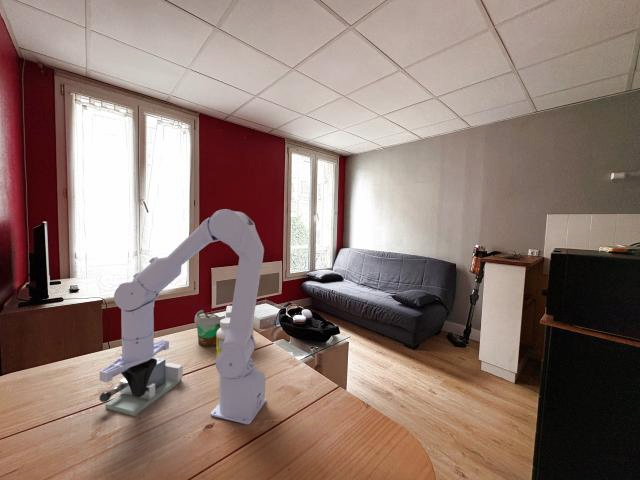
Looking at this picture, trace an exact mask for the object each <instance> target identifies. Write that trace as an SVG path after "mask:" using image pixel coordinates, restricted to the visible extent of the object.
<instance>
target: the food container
mask: <svg viewBox="0 0 640 480" xmlns="http://www.w3.org/2000/svg"><path fill="white" fill-rule="evenodd" d="M224 318H226V315H223V316H219V315H216V314H214V313H206V312H204V309H201V310H199V311H197V312H196V314H195V316H194V323H195V324H196V331H197V340H198V341H197V342H198V345H199V346H200V347H204V348H212V347H213V348H214V347H216V334H217V331H218V329H220V328H221V326H220V320H222V319H224Z"/></svg>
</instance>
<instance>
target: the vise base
mask: <svg viewBox="0 0 640 480" xmlns="http://www.w3.org/2000/svg"><path fill="white" fill-rule="evenodd" d="M183 369H184V366H183V365H182V364H178V363H172V362H166V383H164V384H163V385H161V386H160V387H159V388H157V389H156V390H155V397H153V398H152V399H150V400H146V399H142V398H138V397H134V396H130V395H126V394H122V393H120V394H118V396H116V397H114V398H112V399H111V400H108V401H107V402H105V409H107V410H111V411H115V412H118V413H122V414H126V415H128V416H133V417H135V416H136V415H138V414H139V413H140V412H142V411H143V410H145V409H146V408H148V407H149V406H150V405H151V404H152V403H154V402H156V401H157V400H158V399H159V398H161V397H162V396H163V395H165V394H166V393H168V392H169V391H170V390H172V389H173V388H174V387H176V386H177V385H178V384H179V383H181V382H182V381H183V380H182V379H183V376H184V373H183V372H184V371H183Z"/></svg>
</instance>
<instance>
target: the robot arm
mask: <svg viewBox="0 0 640 480" xmlns="http://www.w3.org/2000/svg"><path fill="white" fill-rule="evenodd" d="M219 241H221V242H222V243H223V244H226V245H227V246H229V247H230V249H232V250H233V251H234V253H235V254H236V255H238V258H239V259H238V265H237V273H236V278H235V286H234V291H233V298H232V305H231V306H232V310H231V317H230V323H229V329H228V332H227V335H226V337H225V340H224V343H223V349H222V351H221V352H220V354H219V355H218V357H217V359H216V358H215V368H216V370H217V372H218V373H219V393H218V394H219V400H218V401H219V403H218V404H217V405H216V406H215V407H214V408H213V409H212V410H211V411H210V414H209V415H210V416H212V417H216V418H219V419H224V420H228V421H233V422H236V423H238V424H239V423H240V424H243V425H250V424H251V423H252V422H253V420H255V418H256V416H257V415H258V413H259V412H260V411H261V409H262V407H264V405H265V403H266V401H267V398H266V376H265V372H263V371H261V370H259V369H257V368H256V367H255V366H254V361H253V359H252V355H253V352H255V349H256V341H255V338H254V332H255V331H254V330H255V329H254V326H253V325H254V317H255V311H256V305H257V300H258V299H257V298H258V292H259V286H260V280H261V273H262V266H263V261H264V260H263V259H264V253H265V247H264V245H263V243H262V241H261V238H260V236H259V234H258V231H257V229H256V225H255V222H254V221H253V220H252V219H251V218H250V217H249V216H248V215H247V214H245V213H244V212H242V211H235V210H231V209H227V208H225V209H219V210H216V211H215V212H214V213H213V214H212V215H211V216H210V217H208V218H206V219H204V220H203V221H202V222H201V224H200V225H199V226H197V228H196V229H195V230H194V231H192V232H191V234H190V235H189V236H188V237H187V238H185V239H184V240H183V241H182V242H181V243H180V244H179V245H178V246H177V247H176V248H175V249H174V250H173V251H172V252H171V253H170V254H169V255H166V254H165V255H158V256H155V257H152V258H150V259H149V261H148V262H149V264H148V265H147V266H146V267H145V268H144V269H143V270H142V271H140V272H136V273H135V274H134V275H132V277H133V279H132V281H125V282H122V283H120V284H119V285H118V287H117V288H116V290H115V291H114V295H113V301H114V304H116V306H117V307H118V308H119V309H120V310H121V311H120V313H121V315H120V316H121V321H120V323H121V325H120V326H121V353H120V357H118V358H117V359H116V360H114V361H113V362H112V363H111V364H109V365H108V366H106V367H104V368H103V369H101V370H99V382H100V381H101V382H104V383H109V382H111V381H112V380H113V378H114V377H117V376H119V375H120V374H121V375H122V377H124V378H125V379H126V380H127V382H128V384H129V386H130V389H131V392H132V395H133V396H136V397H141V396H142V395H144V394H145V391H146V387H147V384H148V381H149V378H150V375H151V373H152V371H153V369H154V368H155V366H156V364H157V360H156V359H153V357H155V356H156V355H157V354H158V353H159V354H160V352H162V351H167V350H169V349H170V341H169V340H166V339H161V340H159V341H157V342H154V341H155V340H154V339H155V338H154V337H155V336H154V335H155V333H154V332H155V331H154V330H155V328H154V327H155V326H154V325H155V324H154V323H155V321H154V313H155V312H154V308H155V301H156V300H157V299H158V297H159V295H160V293H161V292H162V291H163V290H164V289H165V288H166V287H168V285H170V284H171V283H172V282H173V281H174V280H176V278H178V277H179V276H180V275H181V273H182V266H183V265H184V264H186V263H187V262H188V261H189V260H190V259H192V257H194V256H195V255H197V254H198V253H199V252H200V251H201V250H203V249H204V248H205V247H206V246H208V245H209V244H210V243H214V242H219ZM124 378H123V379H124Z"/></svg>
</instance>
